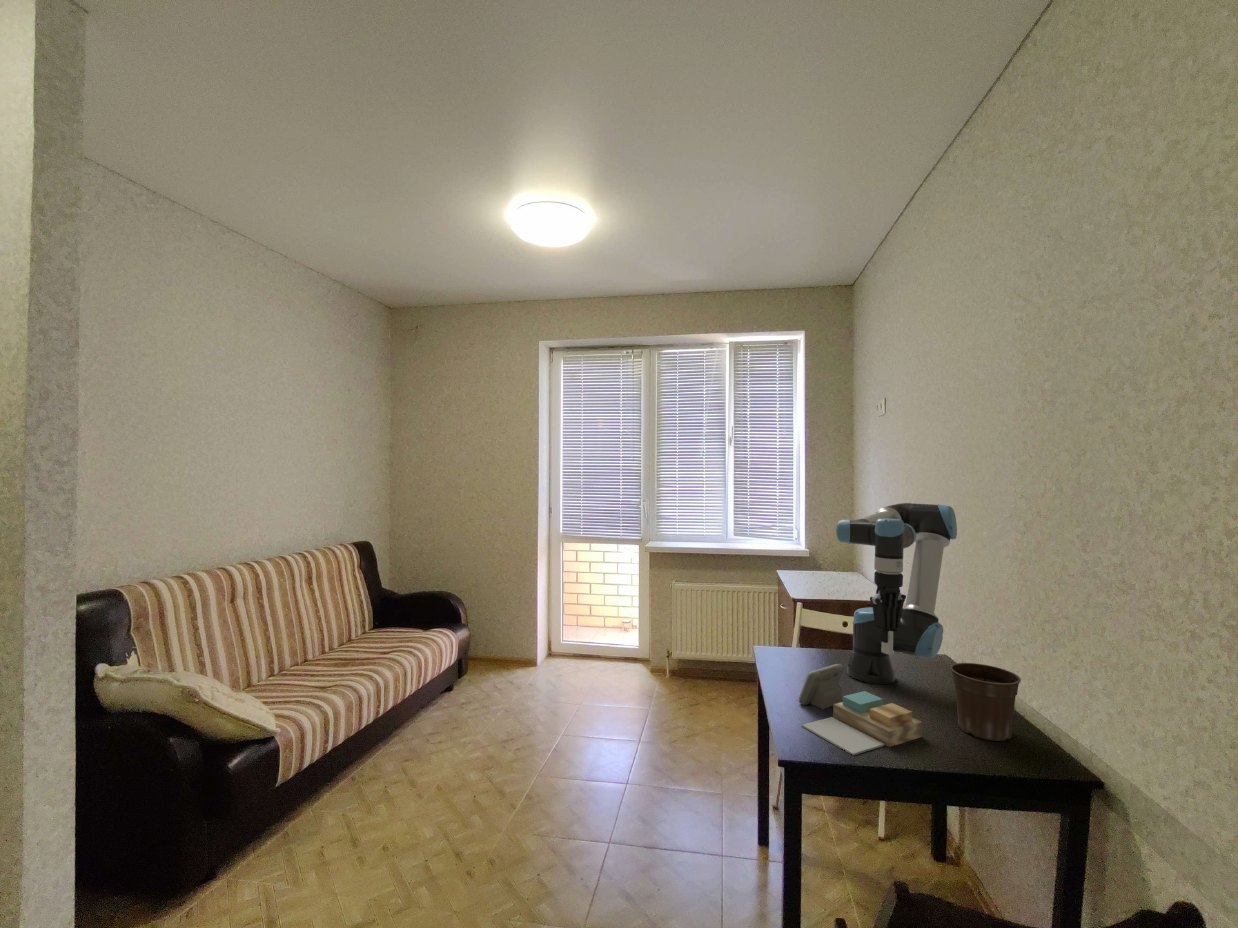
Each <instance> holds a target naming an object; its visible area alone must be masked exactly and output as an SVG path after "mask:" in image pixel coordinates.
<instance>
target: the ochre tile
mask: <svg viewBox="0 0 1238 928" xmlns="http://www.w3.org/2000/svg"><path fill="white" fill-rule="evenodd" d="M870 718H871V719H873V720H875V721H877V722H879V723H881V724H883V725H885V726H887V727H889V728H890V727H893V726H897V725H900V724H903V723H907V722H910V721H912V718H913V711H912V710H909V709H907V708H904V707H902V706H900V705H898V704H896V703H893V702H891V703H887V704H883V706H879V707H875V708H871V709H870Z"/></svg>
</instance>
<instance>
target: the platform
mask: <svg viewBox="0 0 1238 928" xmlns="http://www.w3.org/2000/svg"><path fill="white" fill-rule="evenodd" d="M832 708H833V711H832V712H833V713H832V716H833V718H835V719H837V720H839V721H841V722H843V723H845V724H847V725H849V726H850V727H852V728H854V729H856V730H858V731H860V732H862V733H864V734H866V735H868V736H870V737H872V738H874V739H876V740H878V741H880V742H882V743H884V746H886V747H888V748H891V747H894V745H895V746H897V745H898V746H899V745H900V744H904V743H907V742H910V741H913V740H916V739H920V738H922V737H923V721H921V720H919V719H916V718H914V717H912V721H910V722H907V723H903V724H900V725H897V726H893V727H890V728H889V727H887V726H885V725H883V724H881V723H879V722H877V721H875V720H873V719H871V718H870V711H868V712H865V713H861V714H860V713H858V712H856V711H854V710H852V709H850V708H848V707H846V706H843V701H842V702H841V703H837V704H833V706H832Z"/></svg>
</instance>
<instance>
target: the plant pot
mask: <svg viewBox="0 0 1238 928" xmlns="http://www.w3.org/2000/svg"><path fill="white" fill-rule="evenodd" d="M949 669H950V671H951V673H952V681H953V684H954V691H955V701H956V709H957V721H958V722H957V725H958V728H959V729H960V730H961V731H963V732H964V733H965V734H971V735H973V736H974V737H976V738H979V739H982V740H986V741H990V742H991V741H992V742H1004V741H1006V740H1010V739H1011V738H1012V734H1013V733H1012V732H1013V731H1012V730H1013V723H1014V712H1015V704H1016V703H1015V702H1016V696H1017V695H1018V690H1019V685H1020V683H1021V681H1022V678H1021V677H1020V676H1019V675H1017V674H1016V673H1014V672H1012V671H1010V670H1006V669H1004V668H1002V667H997V666H993V665H989V664H988V665H987V664H983V663H974V662H959V663H958V662H957V663H953V664H951V665H950V668H949Z"/></svg>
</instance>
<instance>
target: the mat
mask: <svg viewBox="0 0 1238 928" xmlns="http://www.w3.org/2000/svg"><path fill="white" fill-rule="evenodd" d="M801 727H802V728H804V729H805V730H807V731H808V732H811V733H813V734H814V735H816V736H818V737H820V738H822V739H823V740H825V741H827V742H829V743H830V744H832V745H833V746H835V747H838V748H839V749H841V750H842V749H843V750H842V751H844V750H845V751H844V752H846V753H847V754H850V755H851V754H852V756H856V755H860V754H862V753H866V752H868V751H871V750H875V749H879V748H882V747H885V745H884V743H882V742H880V741H878V740H876V739H874V738H872V737H870V736H868V735H866V734H864V733H862V732H860V731H858V730H856V729H854V728H852V727H850V726H849V725H847V724H845V723H843V722H841V721H839V720H837V719H835V718H833V717H832V716H830V717H827V718H822V719H819V720H814V721H811V722H807V723H804V724H801Z"/></svg>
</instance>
